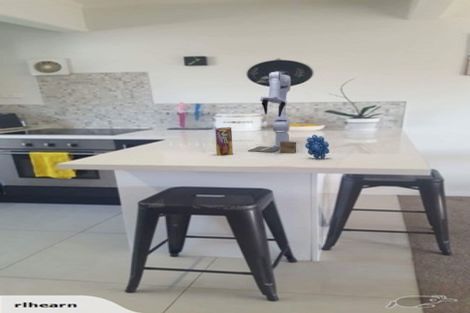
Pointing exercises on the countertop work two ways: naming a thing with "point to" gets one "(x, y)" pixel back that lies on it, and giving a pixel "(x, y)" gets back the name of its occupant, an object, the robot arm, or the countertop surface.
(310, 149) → the blue knobbed wheel
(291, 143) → the walnut block
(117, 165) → the countertop surface
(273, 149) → the mat
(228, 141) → the candy box
